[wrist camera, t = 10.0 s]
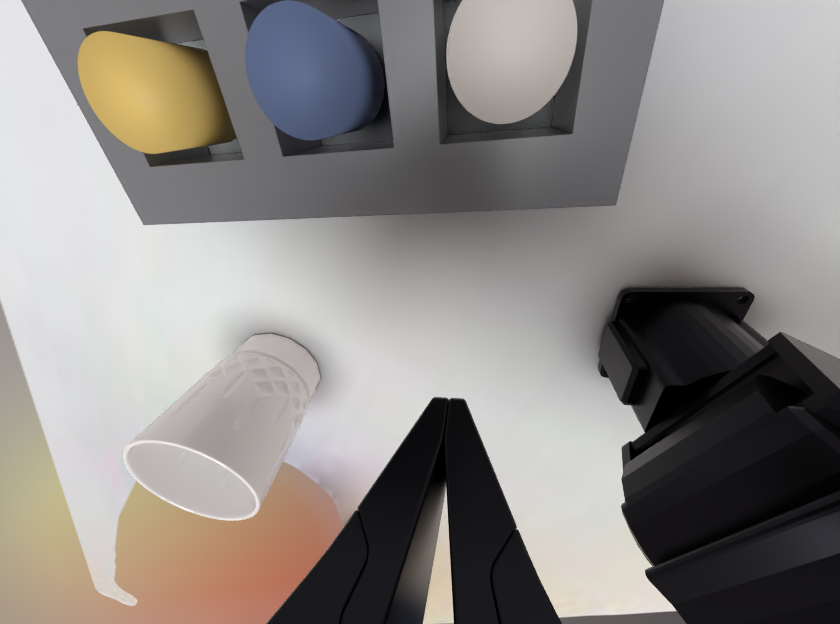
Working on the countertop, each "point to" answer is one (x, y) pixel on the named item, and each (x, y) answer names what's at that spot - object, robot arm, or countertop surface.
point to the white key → (510, 55)
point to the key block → (409, 109)
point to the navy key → (312, 72)
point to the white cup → (228, 431)
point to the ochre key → (153, 92)
